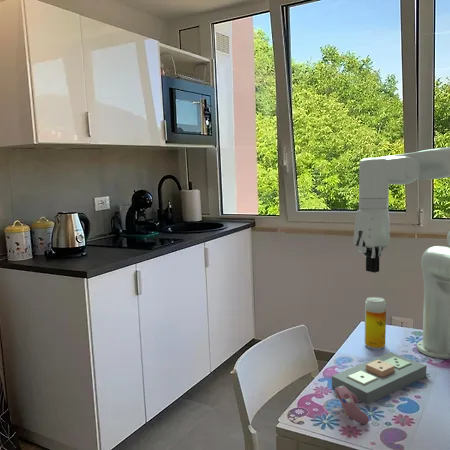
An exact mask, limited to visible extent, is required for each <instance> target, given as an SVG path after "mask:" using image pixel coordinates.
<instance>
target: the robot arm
mask: <svg viewBox="0 0 450 450" xmlns="http://www.w3.org/2000/svg"><path fill="white" fill-rule="evenodd" d="M358 171H359V172H358V174H359V175H358V177H359V178H358V179H359V180H358V181H359V184H358V194H359V195H358V209H357V210H356V211H357V212H356V215H355V220H354V227H353V229H354V230H353V245H354V246H356V247H358V249H357V252H358V253H363V254H364V258H365V271H366V272H369V273H374V274H375V273H379V272H380V258H381V257H382V253H383V252H382V251H383V250H385V249H386V248H388V244H389V243H390V240H391V219H390V213H389V212H390V210H389V188H390V185H398V186H399V185H402V186H403V185H408V184H409V185H410V184H412V183H414V182H415V181H417V180H441V179H446V178H450V146H447V147H446V146H445V147H440V148H432V149H424V150H420V151H415V152H408V153H401V154H400V153H399V154H393V155H385V156H380V157H367V158H362V159H361V160H360V162H359V170H358ZM446 242H447V245H448V246H444V245H434V246H431V247H428V248H426V250H424V252H423V253H422V256H421V261H420V262H421V264H420V265H421V266H420V267H421V272H422V277H423V314H422V315H423V316H422V317H423V318H422V340H420V341H418V342H417V344H416V349H417V351H419V353H421V354H424V355H425V356H428V357H431V358H437V359H444V360H450V230H449V231H448V233H447V235H446Z"/></svg>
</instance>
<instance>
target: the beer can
mask: <svg viewBox="0 0 450 450" xmlns="http://www.w3.org/2000/svg"><path fill="white" fill-rule="evenodd" d="M386 319H387V303H386V300H385V298H383V297H380V296H379V297H378V296H369V297H367V298H366V299H365V302H364V344H365V346H366V347H367V348H369V349H371V350H381V349H383V348H384V347H385V346H386V329H387V320H386Z"/></svg>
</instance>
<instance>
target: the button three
mask: <svg viewBox="0 0 450 450" xmlns="http://www.w3.org/2000/svg"><path fill="white" fill-rule="evenodd" d="M383 362H386V363H389V364H391V365H394V368H396V369H398V370H401V369H403V368H405V367H407V366H409V365H411V363H410V362H407V361H405V360H402V359H399V358H397V357H392V358H390V359H388V360H385V361H383Z"/></svg>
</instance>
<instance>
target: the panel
mask: <svg viewBox="0 0 450 450" xmlns="http://www.w3.org/2000/svg"><path fill="white" fill-rule="evenodd" d="M392 357H397V358H399V359H402V360H405V361H407V362H410V363H411V365H409V366H407V367H405V368H403V369H401V370H398V369H396V368H394V373H392V374H389V375H387V376H385V377H383V378H382V377H380V376H377V375H375V374H373V373H370V372H368V371H366V364H368V363H371V362H373V361H376V360H381V361H385V360H388V359H390V358H392ZM359 371H363V372H365V373H368V374H370V375H372V376H375V377H377V380H376V381H374V382H372V383H369V384H367V385H365V386H363V385H361V384H359V383H357V382H355V381H353V380H351V379H348V376H349V375H351V374H354V373H356V372H359ZM425 377H427V365H426V364H423V363H421V362H419V361H415V360H413V359H410V358H407V357H405V356H402V355H399V354H398V353H394V352H388V353H385V354H382V355H380V356H378V357H375V358H373V359H370V360H368V361H366V362H363V363H360V364H358V365H356V366H353V367H350V368H348V369H346V370H343V371H341V372H338V373H335V374H334V375H332V376H331V387H332V388H334V389H335V388H337V387H339V386H345V387H346V388H347V389H348V390H349V391H350V392H352V393H353V394H355V395H356V396H357V398H358V402H360V403H362V404H365V405H367V406H368V405H370V404H372V403H374V402H376V401H378V400H380V399H382V398H384V397H386V396H389V395H390V394H393V393H394V392H396V391H399V390H400V389H403V388H405V387H408V385H412V384H414V383H415V382H417V381H420V380H421V379H423V378H425Z"/></svg>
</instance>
